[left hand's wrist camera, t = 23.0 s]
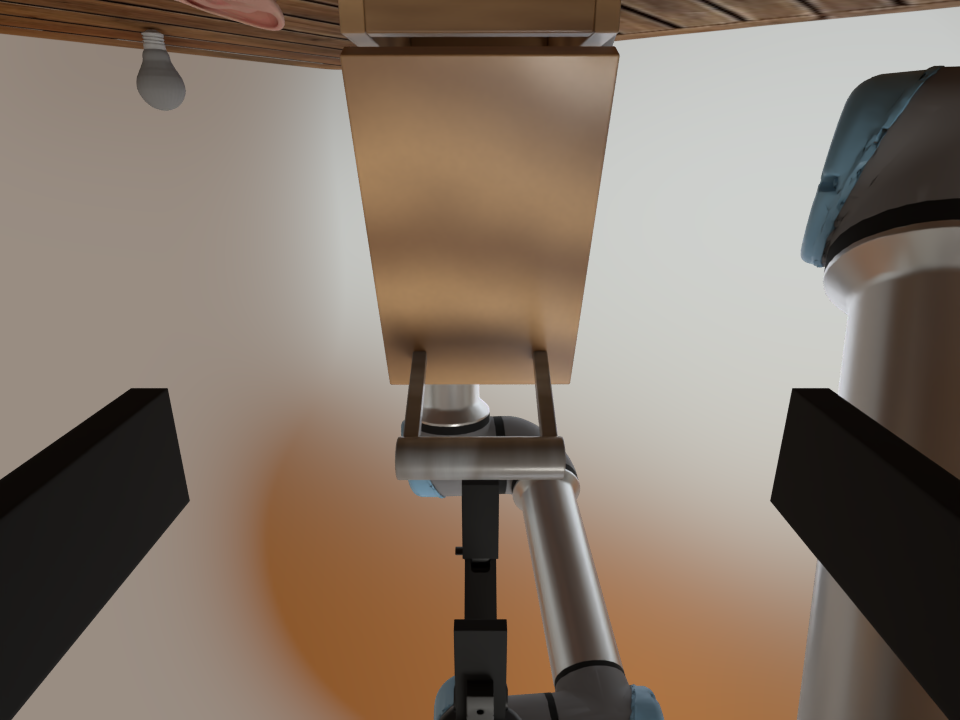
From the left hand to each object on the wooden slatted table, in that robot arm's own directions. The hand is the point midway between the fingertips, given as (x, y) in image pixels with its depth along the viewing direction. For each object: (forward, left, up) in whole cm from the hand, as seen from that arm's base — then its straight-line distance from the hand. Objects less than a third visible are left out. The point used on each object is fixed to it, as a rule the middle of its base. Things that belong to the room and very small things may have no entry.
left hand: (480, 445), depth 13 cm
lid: (-12, +10, -2) cm, 16 cm away
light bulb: (-33, +84, -21) cm, 93 cm away
